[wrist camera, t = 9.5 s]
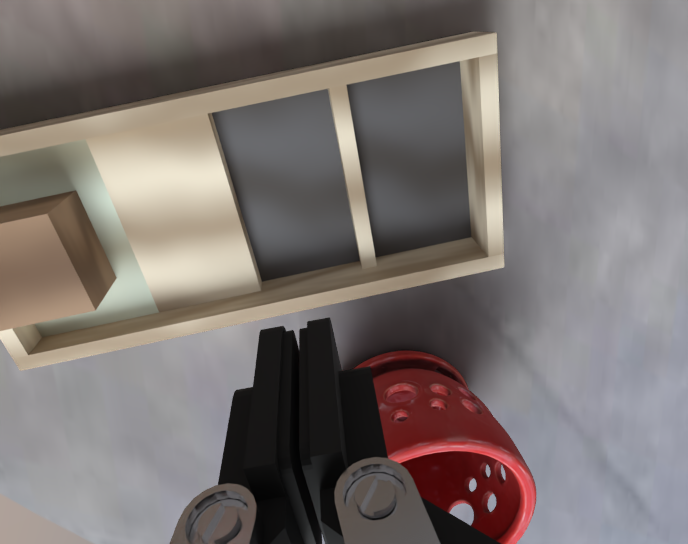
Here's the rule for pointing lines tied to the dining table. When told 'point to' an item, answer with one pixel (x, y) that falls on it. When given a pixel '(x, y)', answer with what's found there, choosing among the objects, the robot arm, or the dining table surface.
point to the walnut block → (49, 261)
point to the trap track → (272, 192)
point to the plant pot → (451, 442)
